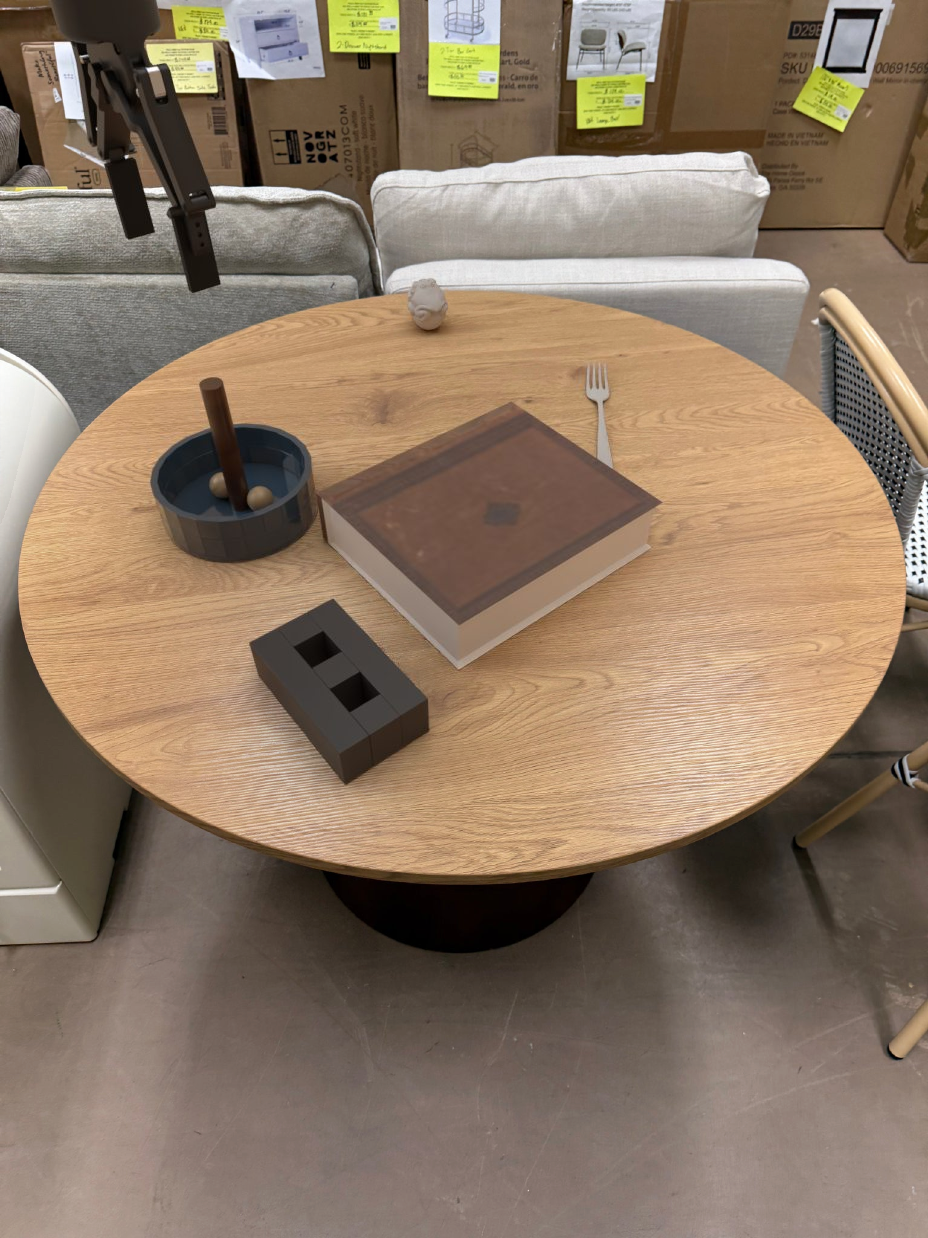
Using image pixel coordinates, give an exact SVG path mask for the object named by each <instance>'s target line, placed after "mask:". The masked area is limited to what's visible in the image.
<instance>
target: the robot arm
mask: <svg viewBox="0 0 928 1238" xmlns="http://www.w3.org/2000/svg"><path fill="white" fill-rule="evenodd" d="M48 1H49V4H50V8H51V10H52V14H53V17H54V21H55V24H56V27H57V30H58V32H59V33H60V35H61V36H62V37H63V38H65V39H66V40H69V43H70V45H71V48H72V53H73V56H74V60H75V65H76V70H77V78H78V84H79V85H78V86H79V90H80V97H81V104H82V111H83V118H84V124H85V131H86V136H87V137H86V138H87V139H86V140H87V142H88V144H89V145H90V146H91V147H92V148H96V151H97V155H98V156H99V157H100V160H101V161H102V162H103V161H105V163H103V166H104V170H105V172H106V177H107V180H108V182H109V186H110V190H111V193H112V196H113V200H114V203H115V207H116V210H117V213H118V216H119V220H120V223H121V227H122V231H123V234H124V237H125V238H126V239H127V240H128V241H131V240H133V239H137V238H140V237H141V238H142V237H145V236H148V235H151V234H155V233H156V229H155V226H154V222H153V219H152V215H151V211H150V207H149V203H148V200H147V196H146V192H145V188H144V185H143V182H142V177H141V173H140V170H139V166H138V162H137V159H136V158H135V157H133V156H131V155H134V154H138V151H137V148H136V147H135V145H134V143H133V142H132V140H131V132H132V133H134V134H137V136H138V137H139V140H140V142H141V144H142V146H143V148H144V151H145V152H146V153H147V154H146V155H147V156H148V158H149V160H150V163H151V165H152V167H153V169H154V171H155V173H156V175H157V177H158V180H159V181H160V183H161V186H162V188H163V190H164V193H165V194H166V196H167V199H168V200H169V202H170V205H171V206H169V207H168V209H167V210H166V213H165V215H166V216H167V218H168V219H169V220H171V224H172V225H171V226H172V228H173V232H174V233H173V234H174V237H175V240H176V244H177V248H178V252H179V257H180V260H181V265H182V268H183V272H184V276H185V280H186V286H187V288H188V291H189V292H190V293H192V294H195V293H198V292H202V291H205V290H208V289H211V288H214V287H218V286H221V285H222V283H221V278H220V274H219V269H218V264H217V261H216V260H217V259H216V255H215V251H214V245H213V242H212V237H211V232H210V228H209V224H208V219H207V215H206V211H209V210H213V209H216V207H217V201H216V198H215V196H214V193H213V190H212V188H211V185H210V182H209V179H208V176H207V174H206V171H205V168H204V166H203V163H202V160H201V157H200V155H199V152H198V150H197V147H196V144H195V142H194V139H193V137H192V133H191V131H190V129H189V126H188V122H187V121H186V117H185V115H184V112H183V109H182V107H181V105H180V102H179V99H178V95H177V91H176V88H175V84H174V79H173V76H172V71H171V69H170V66H169V65H168V64H167V63H166V62H162V63H158V64H157V63H156V64H153V63H152V62H151V60H150V58H149V55H148V51H147V49H146V48H145V43H146V40H147V39H148V38H149V37H152V36H154V35H156V34H157V33H158V32H159V31H160V29H161V28H162V27H161V26H162V19H161V15H160V11H159V6H158V2H157V0H48ZM126 156H131V157H127V158H126Z"/></svg>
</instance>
